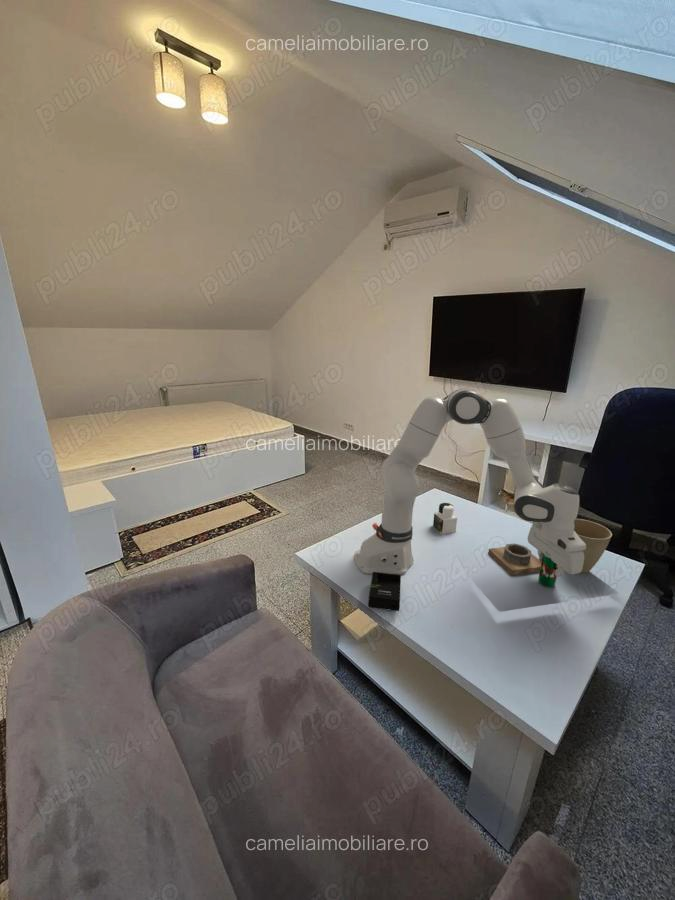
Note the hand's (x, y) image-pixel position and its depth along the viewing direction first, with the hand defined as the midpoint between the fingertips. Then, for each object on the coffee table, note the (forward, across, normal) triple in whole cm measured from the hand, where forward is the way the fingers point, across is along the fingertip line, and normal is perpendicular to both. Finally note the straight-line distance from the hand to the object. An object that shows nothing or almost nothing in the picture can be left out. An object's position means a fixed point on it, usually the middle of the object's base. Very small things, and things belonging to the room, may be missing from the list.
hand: (549, 568), depth 121 cm
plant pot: (+6, -6, +18) cm, 20 cm away
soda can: (+6, 0, 0) cm, 6 cm away
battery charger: (+6, -5, -56) cm, 57 cm away
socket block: (+6, -13, -2) cm, 14 cm away
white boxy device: (+6, -40, -17) cm, 44 cm away
